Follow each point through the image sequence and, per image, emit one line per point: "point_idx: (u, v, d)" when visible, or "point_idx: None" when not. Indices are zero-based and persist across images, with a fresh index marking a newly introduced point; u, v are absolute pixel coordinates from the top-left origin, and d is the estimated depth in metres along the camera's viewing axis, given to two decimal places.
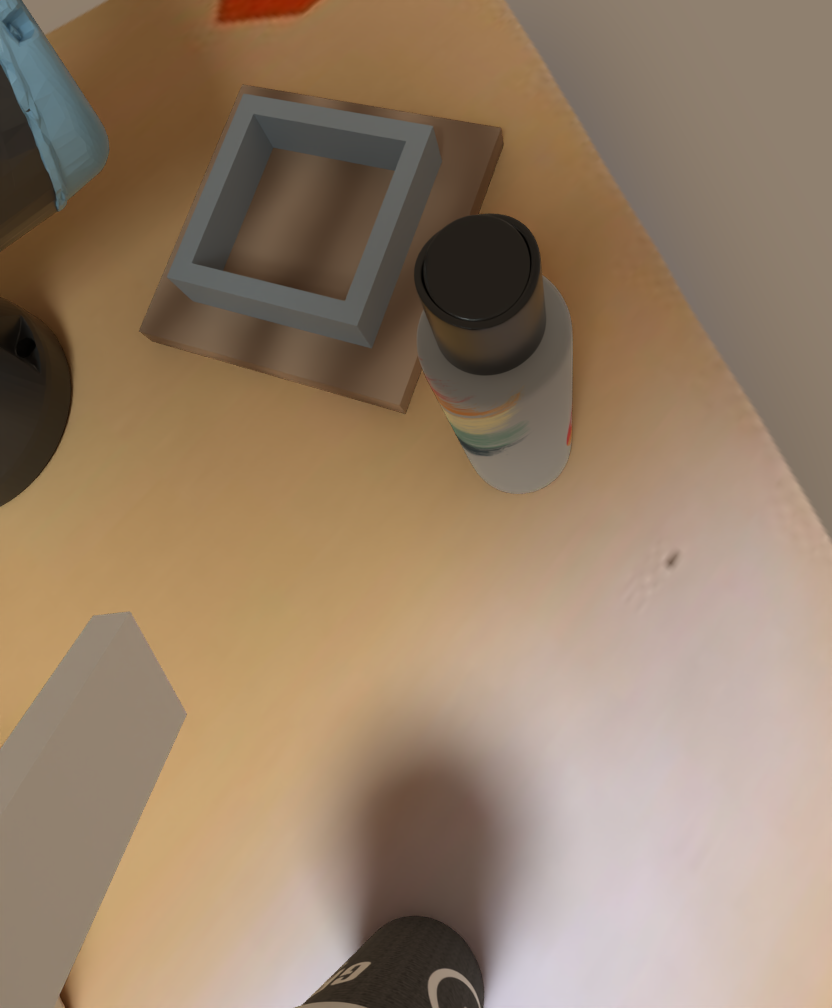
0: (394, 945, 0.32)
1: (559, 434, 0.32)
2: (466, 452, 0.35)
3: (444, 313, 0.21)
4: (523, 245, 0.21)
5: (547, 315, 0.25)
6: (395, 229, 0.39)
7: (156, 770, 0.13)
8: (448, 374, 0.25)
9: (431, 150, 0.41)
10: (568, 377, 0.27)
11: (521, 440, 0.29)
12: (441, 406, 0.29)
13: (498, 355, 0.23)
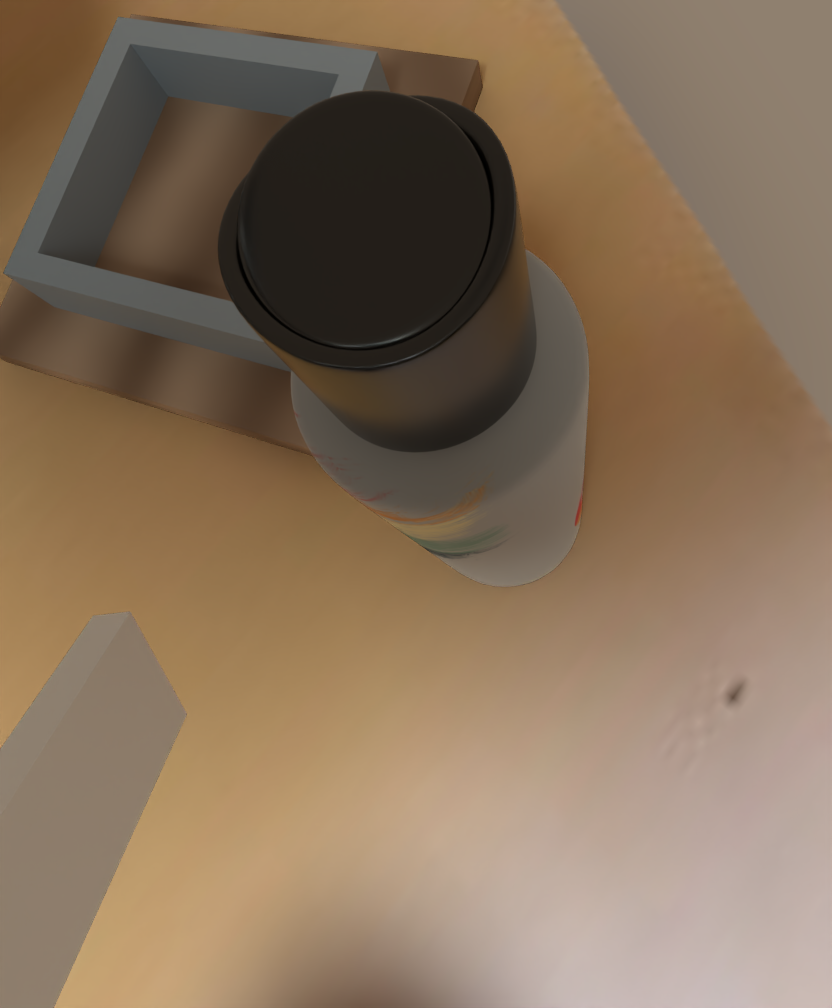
0: None
1: (563, 522, 0.19)
2: None
3: (284, 331, 0.09)
4: (473, 161, 0.08)
5: (539, 330, 0.13)
6: None
7: (156, 770, 0.13)
8: (345, 446, 0.13)
9: (377, 89, 0.29)
10: (580, 443, 0.15)
11: (498, 545, 0.17)
12: None
13: (431, 419, 0.11)
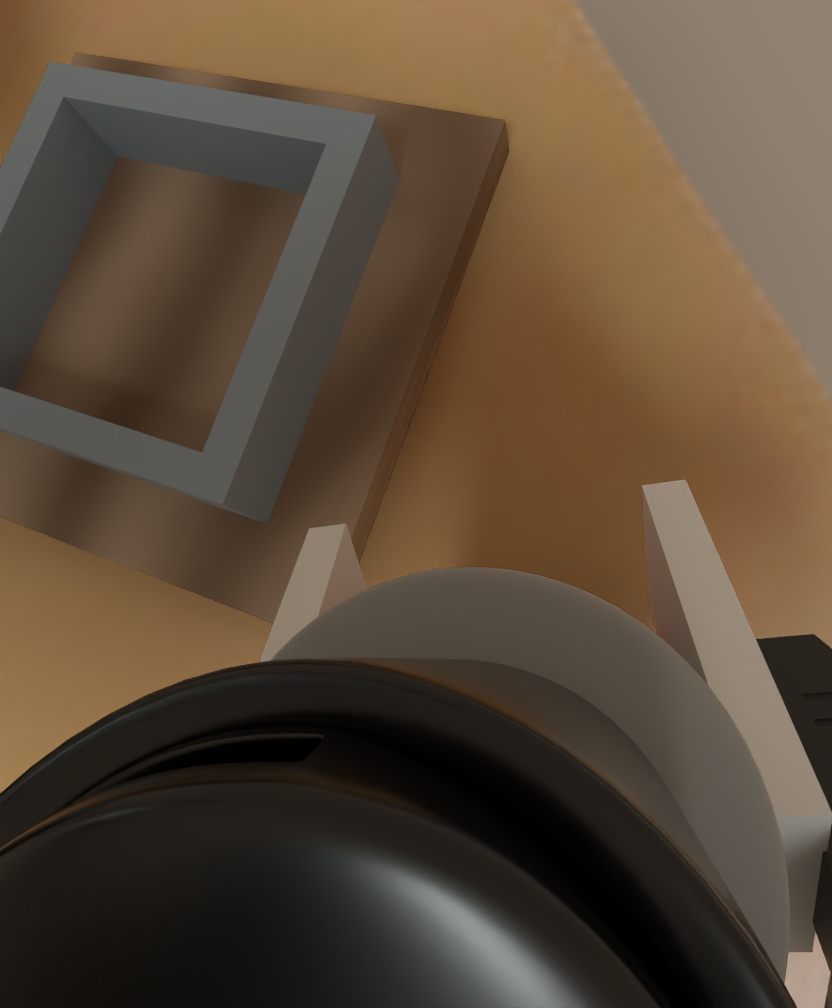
0: None
1: None
2: None
3: None
4: None
5: None
6: (302, 312, 0.21)
7: None
8: None
9: (375, 160, 0.22)
10: None
11: None
12: None
13: None
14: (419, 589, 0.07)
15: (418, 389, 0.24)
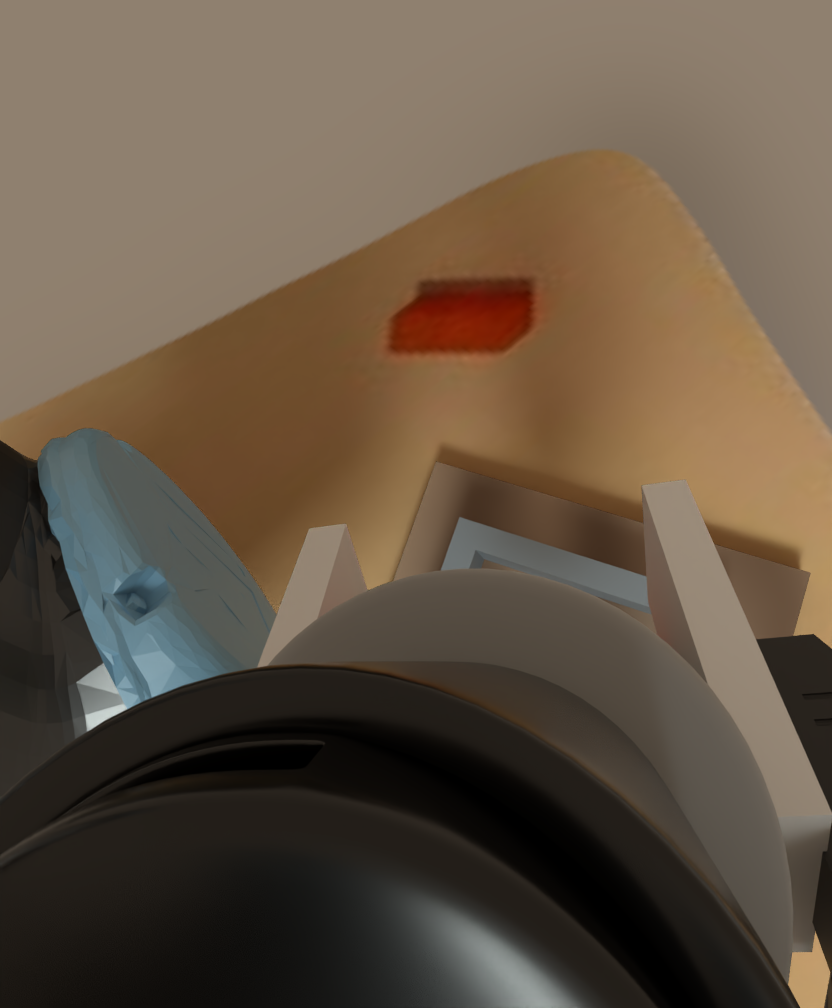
0: None
1: None
2: None
3: None
4: None
5: None
6: None
7: None
8: None
9: None
10: None
11: None
12: None
13: None
14: (419, 591, 0.07)
15: None
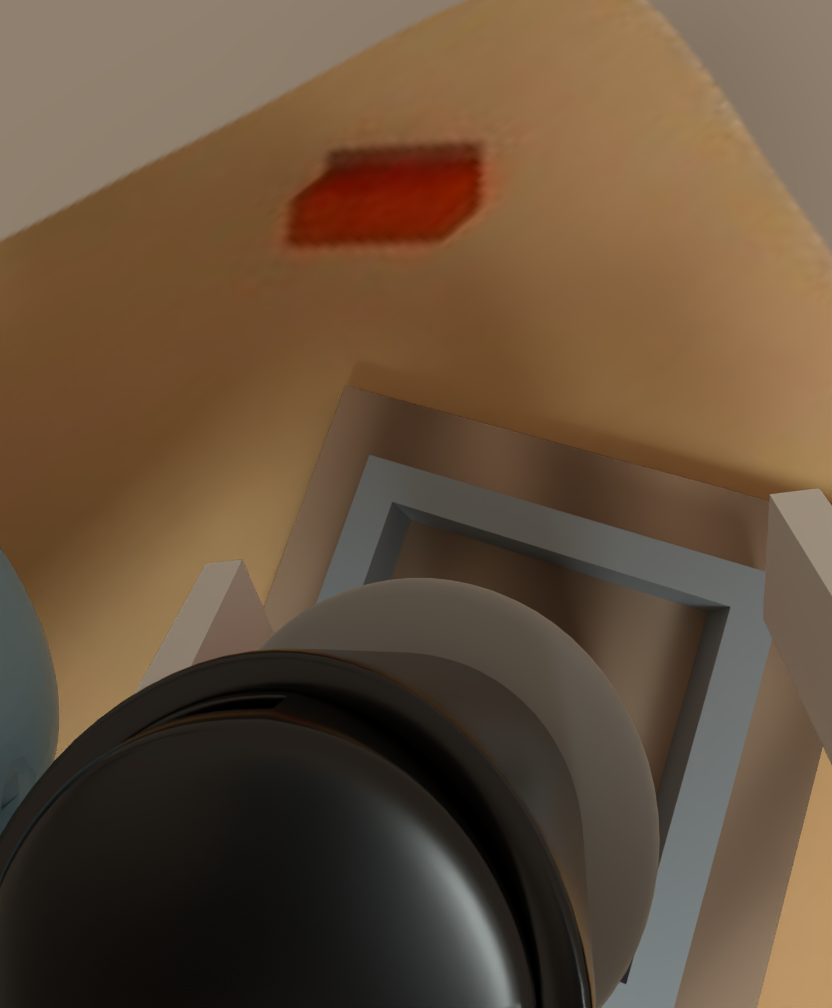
0: None
1: None
2: None
3: None
4: (499, 926, 0.04)
5: (583, 795, 0.08)
6: (723, 813, 0.19)
7: None
8: None
9: None
10: None
11: None
12: None
13: None
14: (375, 596, 0.09)
15: None
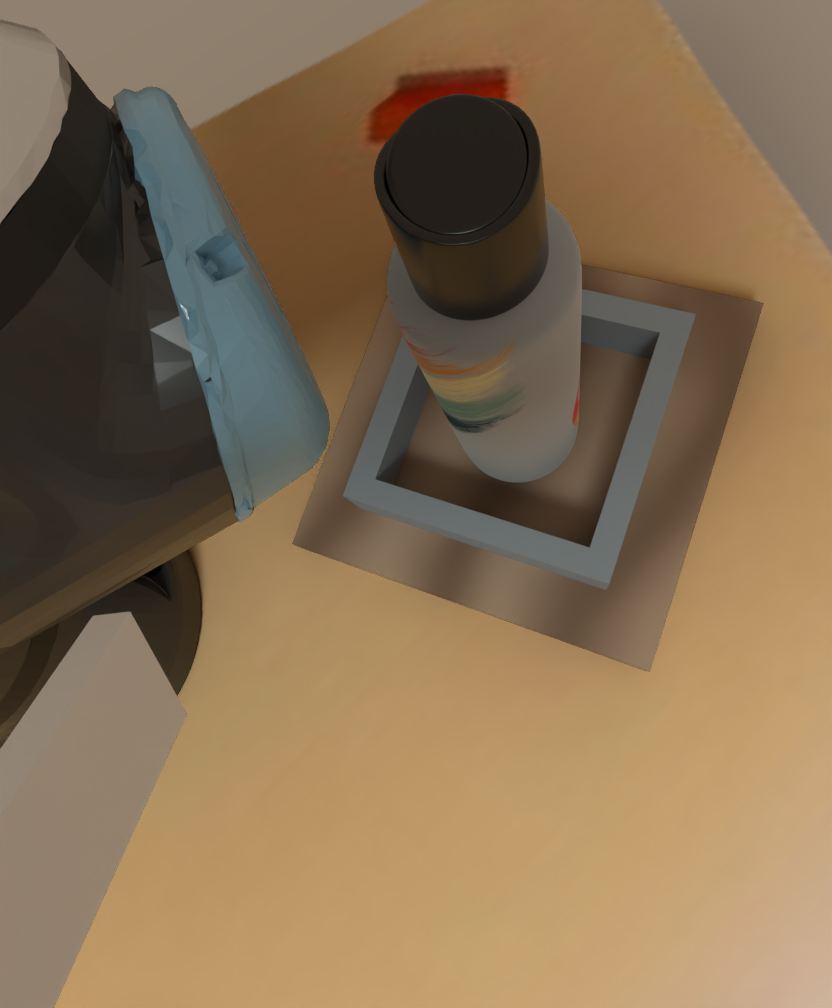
0: None
1: (564, 407, 0.27)
2: (454, 431, 0.30)
3: (412, 224, 0.16)
4: (518, 133, 0.16)
5: (550, 246, 0.20)
6: (651, 451, 0.30)
7: (156, 770, 0.13)
8: (425, 320, 0.20)
9: None
10: (576, 330, 0.22)
11: (517, 411, 0.24)
12: (420, 368, 0.24)
13: (485, 289, 0.18)
14: None
15: None
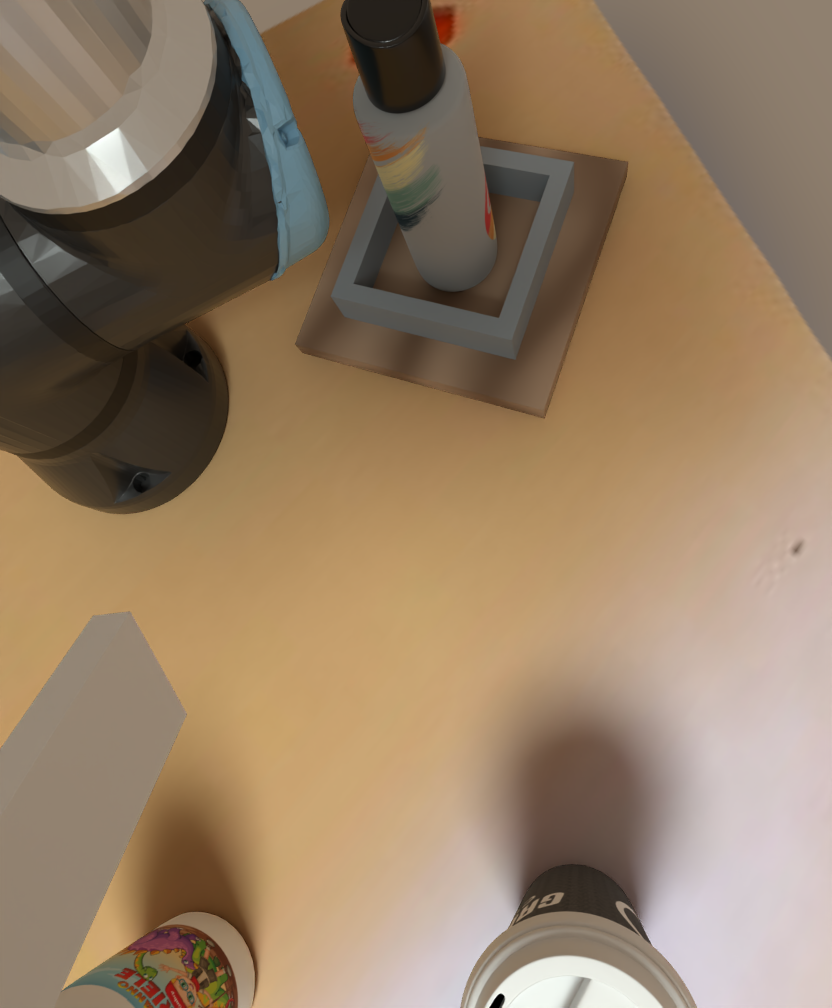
0: (573, 882, 0.36)
1: (474, 206, 0.40)
2: (406, 237, 0.44)
3: (361, 37, 0.30)
4: None
5: (448, 71, 0.34)
6: (542, 254, 0.44)
7: (156, 770, 0.13)
8: (374, 117, 0.34)
9: (570, 183, 0.46)
10: (469, 132, 0.36)
11: (438, 195, 0.38)
12: (376, 167, 0.38)
13: (405, 85, 0.32)
14: None
15: (585, 296, 0.47)
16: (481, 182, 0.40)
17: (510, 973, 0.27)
